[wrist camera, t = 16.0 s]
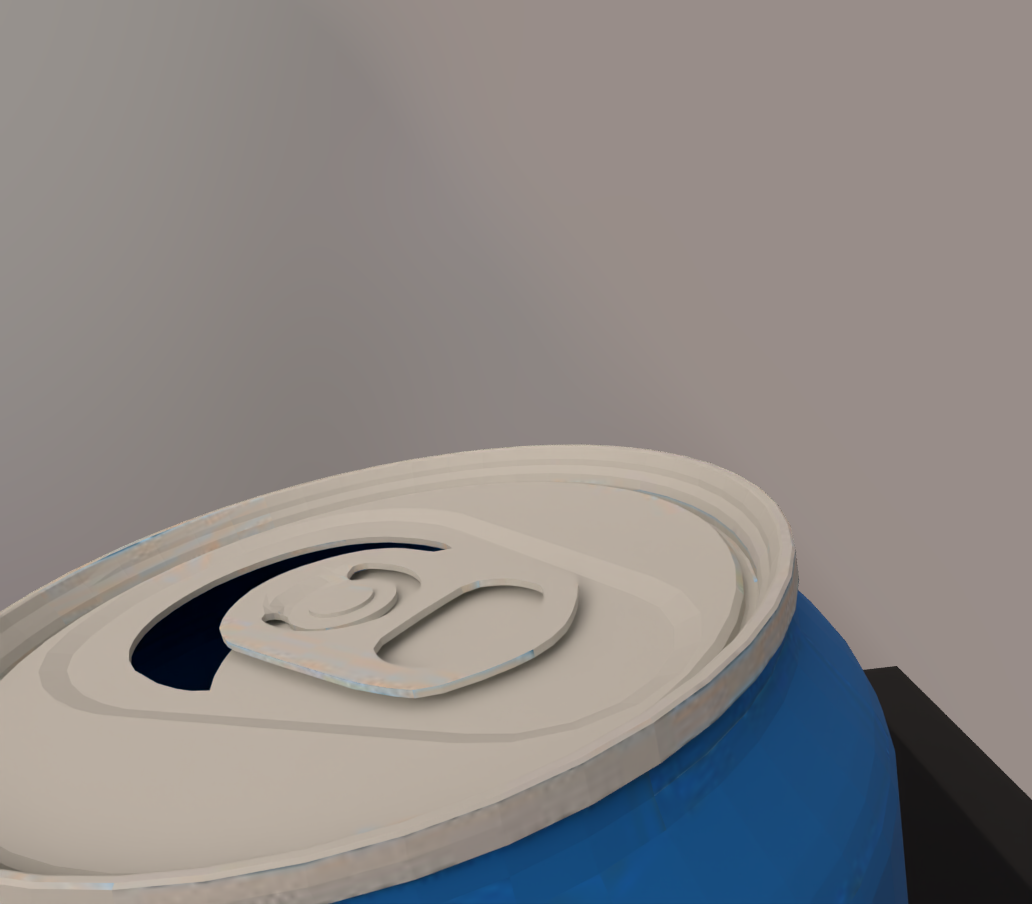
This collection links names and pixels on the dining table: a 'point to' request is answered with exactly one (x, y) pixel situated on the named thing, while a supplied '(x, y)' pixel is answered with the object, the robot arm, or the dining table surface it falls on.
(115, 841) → the beverage can
